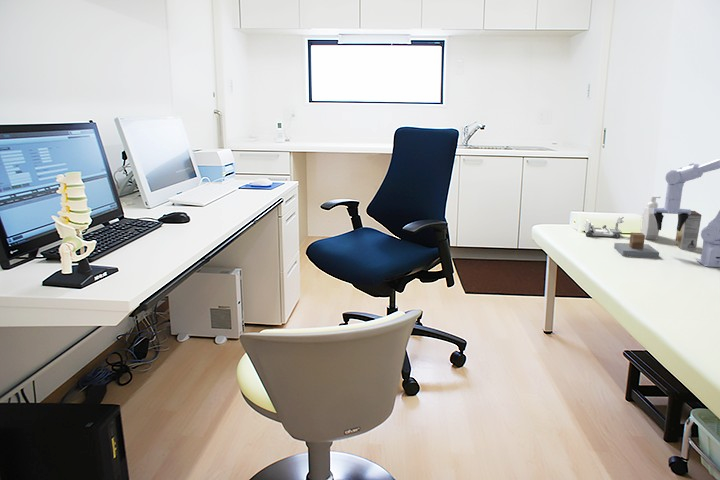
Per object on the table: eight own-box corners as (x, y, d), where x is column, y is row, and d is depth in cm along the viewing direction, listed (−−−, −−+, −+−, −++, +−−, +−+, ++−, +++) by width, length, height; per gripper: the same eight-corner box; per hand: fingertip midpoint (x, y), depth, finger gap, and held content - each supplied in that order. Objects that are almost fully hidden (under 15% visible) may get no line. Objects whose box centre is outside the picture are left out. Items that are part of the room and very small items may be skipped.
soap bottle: (658, 241, 264) (664, 199, 259) (646, 240, 265) (651, 198, 260) (651, 234, 279) (656, 194, 274) (639, 233, 280) (644, 193, 275)
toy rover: (622, 214, 277) (628, 219, 266) (620, 234, 279) (625, 239, 268) (583, 212, 281) (587, 217, 270) (581, 232, 283) (585, 237, 272)
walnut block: (643, 249, 240) (645, 235, 238) (631, 248, 240) (633, 234, 239) (640, 246, 244) (642, 232, 242) (629, 245, 245) (630, 232, 243)
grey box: (658, 259, 235) (659, 252, 234) (622, 257, 237) (623, 250, 237) (647, 251, 248) (648, 244, 248) (613, 249, 251) (614, 242, 250)
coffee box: (674, 244, 258) (679, 210, 254) (689, 245, 257) (694, 210, 253) (680, 249, 249) (686, 213, 245) (696, 250, 248) (702, 214, 244)
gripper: (688, 197, 240) (683, 229, 244) (651, 196, 243) (647, 227, 246) (694, 200, 234) (689, 232, 237) (657, 199, 236) (652, 230, 239)
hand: (668, 230), depth 241 cm, fingers open, 7 cm apart
